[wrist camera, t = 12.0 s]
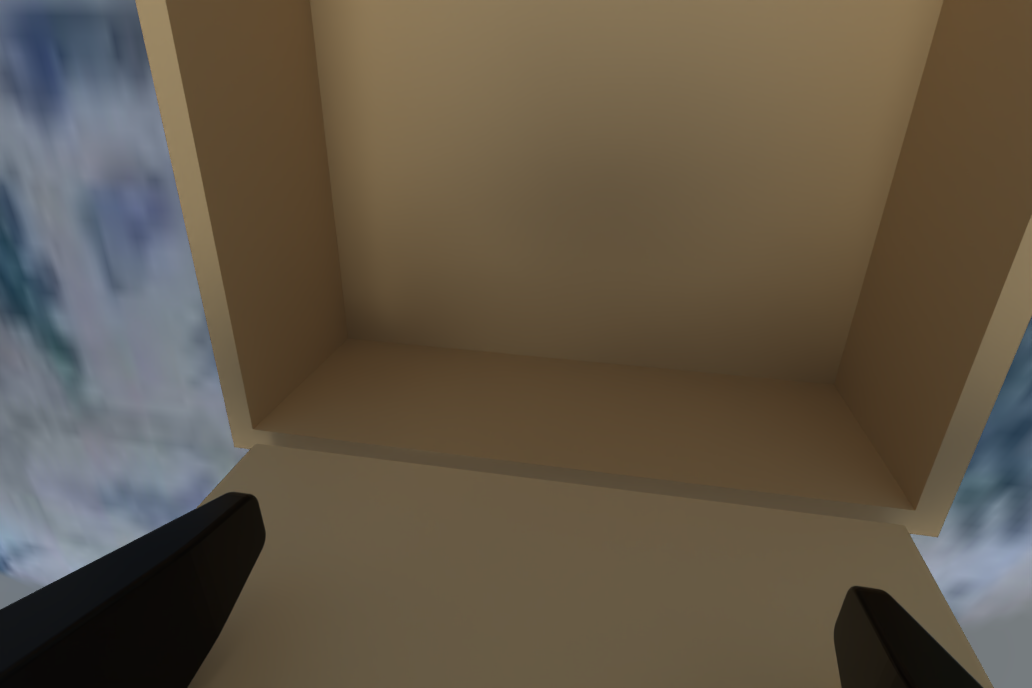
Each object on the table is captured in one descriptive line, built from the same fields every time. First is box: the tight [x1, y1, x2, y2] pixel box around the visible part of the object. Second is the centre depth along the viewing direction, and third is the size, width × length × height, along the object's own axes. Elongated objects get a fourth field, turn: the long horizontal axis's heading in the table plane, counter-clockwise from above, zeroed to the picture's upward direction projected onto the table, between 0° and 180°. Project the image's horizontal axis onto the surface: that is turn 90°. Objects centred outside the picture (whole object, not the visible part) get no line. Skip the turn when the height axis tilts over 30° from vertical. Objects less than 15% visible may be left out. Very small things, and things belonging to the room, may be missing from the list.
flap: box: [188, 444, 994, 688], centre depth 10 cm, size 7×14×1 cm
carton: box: [135, 0, 1032, 537], centre depth 12 cm, size 18×16×6 cm
